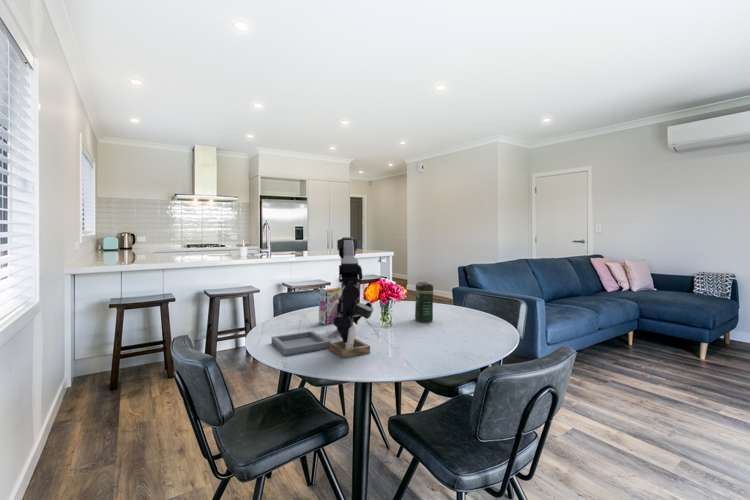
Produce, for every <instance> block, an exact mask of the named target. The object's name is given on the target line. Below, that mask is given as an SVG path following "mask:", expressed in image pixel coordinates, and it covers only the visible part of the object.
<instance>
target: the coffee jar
mask: <svg viewBox="0 0 750 500" xmlns="http://www.w3.org/2000/svg"><path fill="white" fill-rule="evenodd" d="M433 304H434V285H432V284H431V283H428V282H426V281H418V282H417V283H416V284H415V307H414V308H415V310H414V314H415V315H414V317H415V318H414V319H415V320H416V321H418V322H423V323H430V322H432V321H433V320H434V319H433V317H434V315H433V314H434V312H433V310H434V305H433Z"/></svg>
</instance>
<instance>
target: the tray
mask: <svg viewBox="0 0 750 500" xmlns="http://www.w3.org/2000/svg"><path fill="white" fill-rule="evenodd" d="M330 342H331V341H330V340H328V338H325V337H323V336H322V335H320V333H317V332H316V331H314V330H308V331H301V332H295V333H287V334H282V335H281V334H279V335H274V336H271V344H272V345H273V346H274V347H275V348H277V350H278V351H280V352H281V353H282V354H283V355H285V356H286V357H289V356H294V355H300V354H305V353H310V352H316V351H322V350H327V349H329V343H330Z"/></svg>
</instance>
